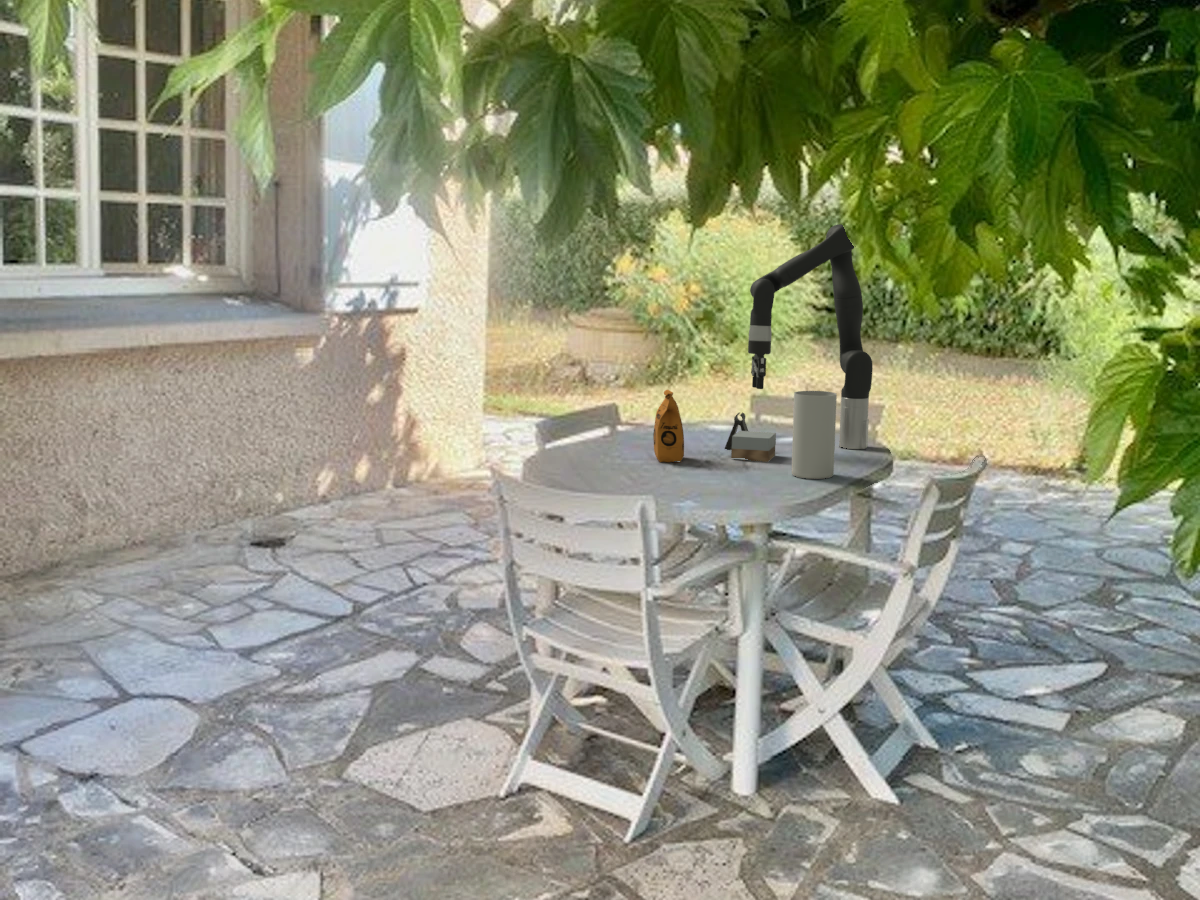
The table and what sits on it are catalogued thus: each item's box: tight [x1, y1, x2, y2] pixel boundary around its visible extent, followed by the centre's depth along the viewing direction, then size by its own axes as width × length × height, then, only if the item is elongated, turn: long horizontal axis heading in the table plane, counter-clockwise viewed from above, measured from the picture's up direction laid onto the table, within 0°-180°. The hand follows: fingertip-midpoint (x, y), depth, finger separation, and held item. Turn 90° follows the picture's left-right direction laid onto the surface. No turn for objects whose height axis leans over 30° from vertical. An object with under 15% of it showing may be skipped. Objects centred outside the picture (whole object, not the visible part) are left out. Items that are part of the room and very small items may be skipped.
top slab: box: [732, 430, 777, 451], centre depth 407 cm, size 12×12×4 cm
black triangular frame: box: [724, 412, 749, 451], centre depth 423 cm, size 9×6×12 cm, turn 75°
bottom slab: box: [730, 445, 776, 463], centre depth 407 cm, size 12×12×4 cm
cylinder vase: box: [791, 390, 838, 480], centre depth 376 cm, size 12×12×25 cm
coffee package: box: [652, 389, 685, 463], centre depth 402 cm, size 10×12×22 cm
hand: (757, 388), depth 419 cm, fingers open, 8 cm apart
